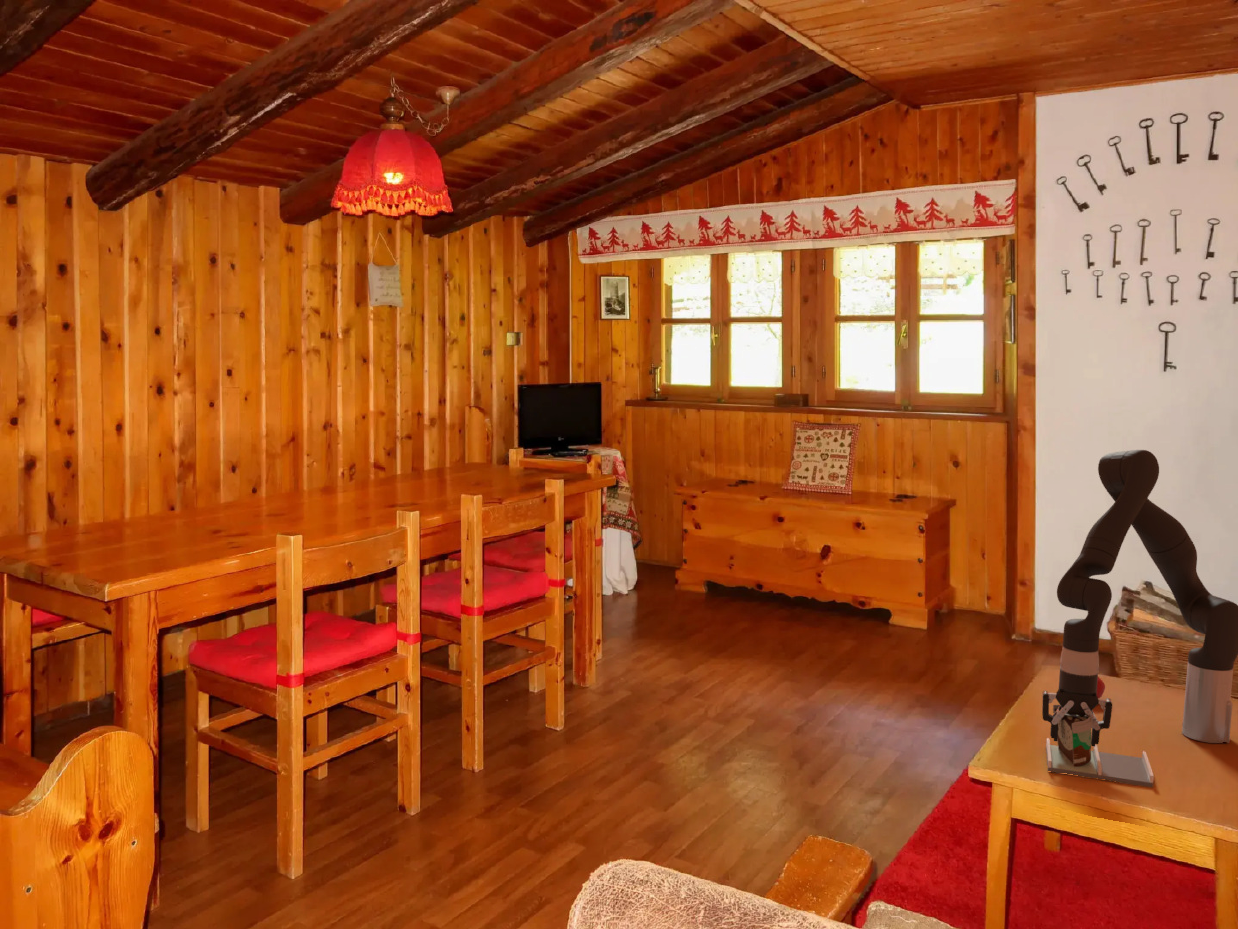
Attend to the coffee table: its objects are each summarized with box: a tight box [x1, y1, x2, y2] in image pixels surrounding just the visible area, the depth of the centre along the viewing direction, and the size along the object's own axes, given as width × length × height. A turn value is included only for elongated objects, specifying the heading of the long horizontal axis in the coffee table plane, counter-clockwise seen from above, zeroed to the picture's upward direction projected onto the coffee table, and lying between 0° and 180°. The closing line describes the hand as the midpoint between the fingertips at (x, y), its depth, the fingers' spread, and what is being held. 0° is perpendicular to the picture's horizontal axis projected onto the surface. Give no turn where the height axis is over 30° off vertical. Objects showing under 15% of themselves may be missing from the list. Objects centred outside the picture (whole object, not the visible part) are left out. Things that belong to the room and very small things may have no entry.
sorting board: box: [1045, 737, 1155, 788], centre depth 222 cm, size 20×14×2 cm
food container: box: [1052, 704, 1094, 767], centre depth 223 cm, size 12×6×10 cm, turn 176°
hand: (1073, 742), depth 223 cm, fingers open, 7 cm apart
